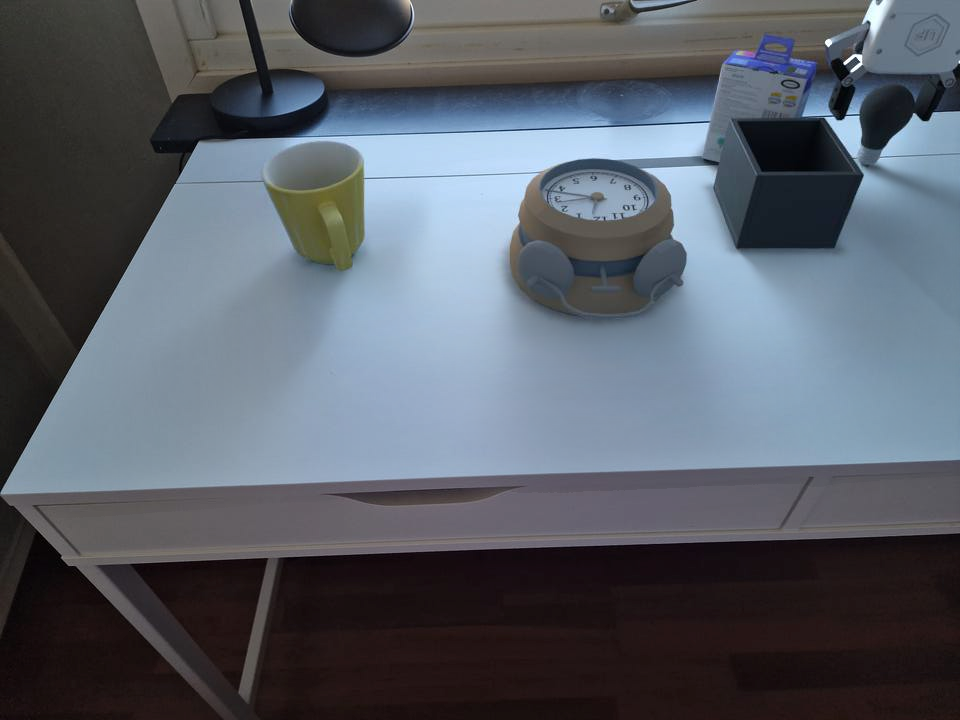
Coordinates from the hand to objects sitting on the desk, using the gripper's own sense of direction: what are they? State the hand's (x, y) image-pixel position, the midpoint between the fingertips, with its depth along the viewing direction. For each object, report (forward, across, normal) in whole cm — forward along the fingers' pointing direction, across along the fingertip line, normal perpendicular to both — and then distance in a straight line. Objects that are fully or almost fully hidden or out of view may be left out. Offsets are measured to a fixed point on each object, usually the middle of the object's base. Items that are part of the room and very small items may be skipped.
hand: (877, 115), depth 81 cm
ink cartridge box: (+7, -13, +2) cm, 15 cm away
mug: (+8, -62, -19) cm, 66 cm away
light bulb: (+7, +1, 0) cm, 7 cm away
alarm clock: (+7, -34, -23) cm, 42 cm away
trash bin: (+7, -13, -11) cm, 19 cm away
